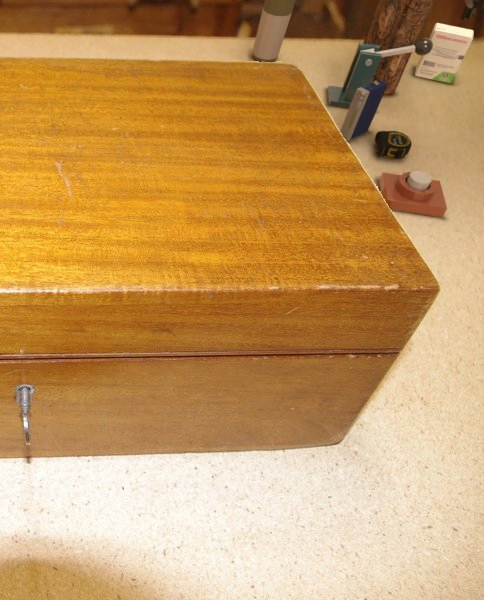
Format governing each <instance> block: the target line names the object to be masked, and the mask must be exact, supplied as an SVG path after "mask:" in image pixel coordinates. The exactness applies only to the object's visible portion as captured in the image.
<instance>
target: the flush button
mask: <svg viewBox="0 0 484 600" xmlns="http://www.w3.org/2000/svg"><path fill="white" fill-rule="evenodd" d="M410 172H411V173H410V175H409V177H408V179H407V181H406V182H407V184H408V185H409V186H410V187H412V188H415V189H418V190H426V189H427V188H428V186H429V185H430V183H431V181H432V180H433V178H432V176H431V175H429V174H428V173H427V172H425V171H422V170H413V171H410Z"/></svg>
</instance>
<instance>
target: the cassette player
mask: <svg viewBox="0 0 484 600" xmlns="http://www.w3.org/2000/svg"><path fill="white" fill-rule="evenodd" d="M387 85H388V84H386V83H385V82H383V81H381V80H377V81H374V82H373V83H370V84H368V85H365V86H363V87H360V88H358V89H356V92H355V94H354V97H353V99H352V102H351V105H350V107H349V108H348V109H347V113H346V115H345V117H344V120H343V122H342V124H341V127H340V130H339V132H341V133H342V135H343V137H344V138H345V139H346V142H349V141H351V140H353V139H355V138H358V137H359V136H361V135H364V134H366V133H368V132H369V130H370V127H371V125H372V122H373V120H374V118H375V116H376V113H377V111H378V108H379V107H380V104H381V102H382V99H383V97H384V96H383V95H384V92H385V90H386V88H387Z"/></svg>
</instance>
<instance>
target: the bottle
mask: <svg viewBox="0 0 484 600" xmlns="http://www.w3.org/2000/svg"><path fill="white" fill-rule="evenodd" d="M296 2H297V0H264V2H263V7H262V11H261V15H260V19H259V23H258V27H257V31H256V35H255V40H254V43H253V48H252V58H253V59H254V60H255V61H258V62H260V61H265V62H270V63H274V62H275V61H277V59H278V57H279V55H280V51H281V48H282V45H283V41H284V38H285V35H286V33H287V29H288V26H289V24H290V19H291V17H292V13H293V10H294V7H295V4H296ZM265 62H264V63H265Z"/></svg>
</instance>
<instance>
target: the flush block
mask: <svg viewBox="0 0 484 600" xmlns="http://www.w3.org/2000/svg"><path fill="white" fill-rule="evenodd" d="M411 172H412V171H406V172H402V173H401V174H396V173H390V172H383V171H382V173H381V175H380V177H379V179H378V184H379V191H380V195H381V194H382V196H383V198H384V199H385V201H386V203H387V204H388V206H389V208H390V209H389V210H393V211H399V212H406V213H412V214H419V215H425V216H431V217H438V218H443V217H444V215H445V213H446V212H447V210H448V207H447V203H446V198H445V195H444V191H443V187H442V184H441V180H438V179H432V181H431V183H430V185H429V186H428V188H427V189H426V190H418V189H415V188H412V187H410V186H409V185H408V184H407V182H406V181H407V179H408V177H409V175H410V173H411Z"/></svg>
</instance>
